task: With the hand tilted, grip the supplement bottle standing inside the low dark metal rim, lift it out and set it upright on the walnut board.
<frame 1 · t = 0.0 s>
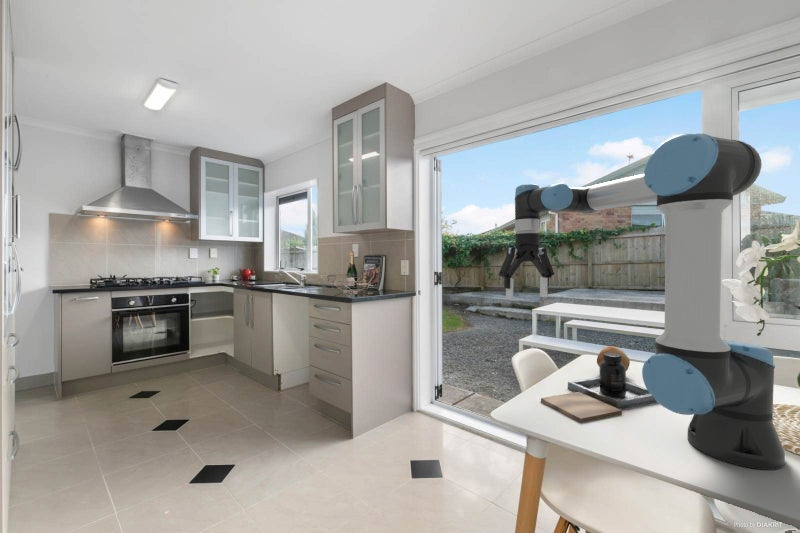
hand: (527, 298, 118), 28 cm above the table, tool pointing down, fingers open, 13 cm apart
supplement bottle: (612, 394, 108), resting in metal rim
onion: (612, 375, 126), on the table
metal rim: (612, 394, 108), on the table
walnut board: (579, 407, 98), on the table
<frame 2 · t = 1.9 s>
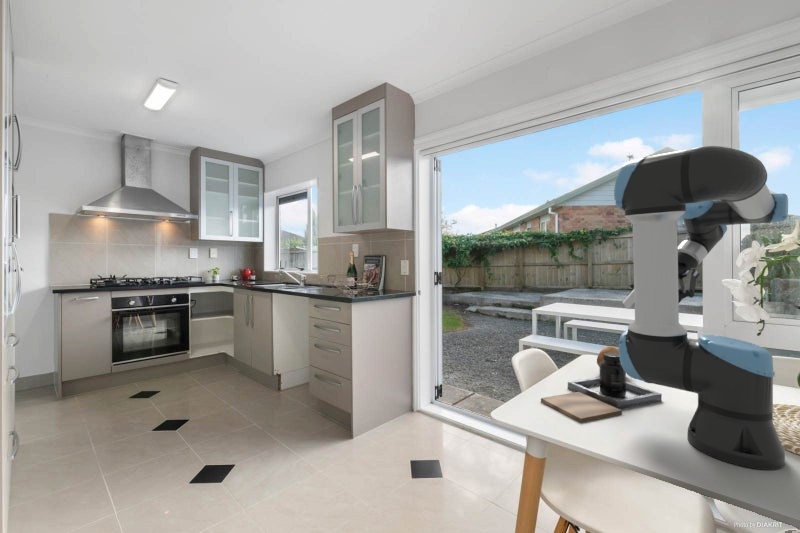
hand: (643, 308, 109), 26 cm above the table, tool tilted 45°, fingers open, 13 cm apart
nothing on the table moved.
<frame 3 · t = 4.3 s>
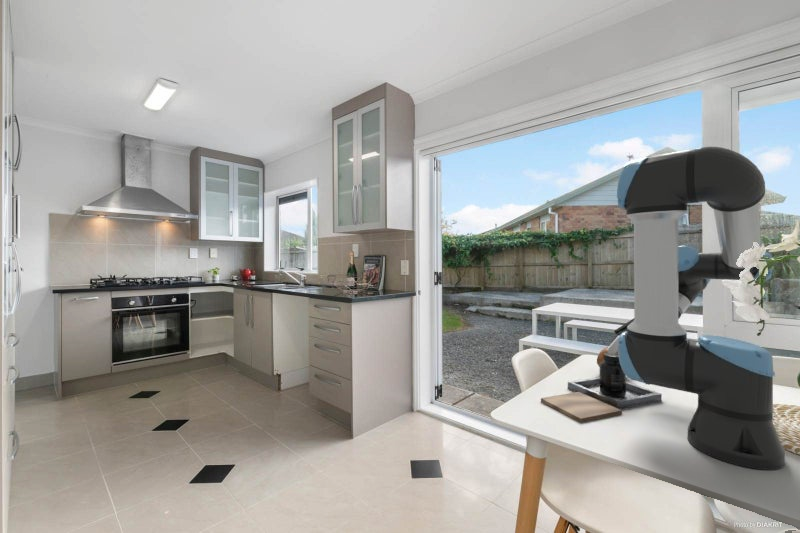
hand: (625, 358, 109), 10 cm above the table, tool tilted 45°, fingers open, 13 cm apart
nothing on the table moved.
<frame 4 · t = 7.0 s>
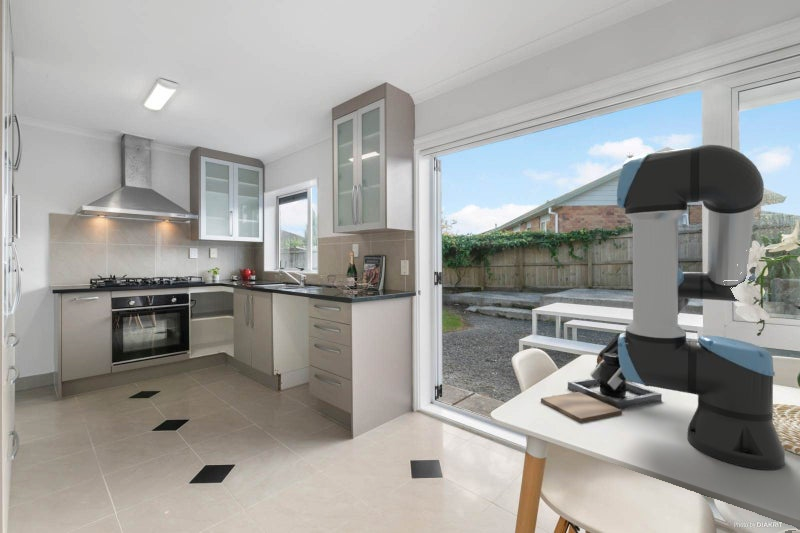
hand: (601, 381, 107), 4 cm above the table, tool tilted 45°, fingers closed on supplement bottle, 7 cm apart
supplement bottle: (612, 394, 108), resting in metal rim, touching gripper
everything else where it was.
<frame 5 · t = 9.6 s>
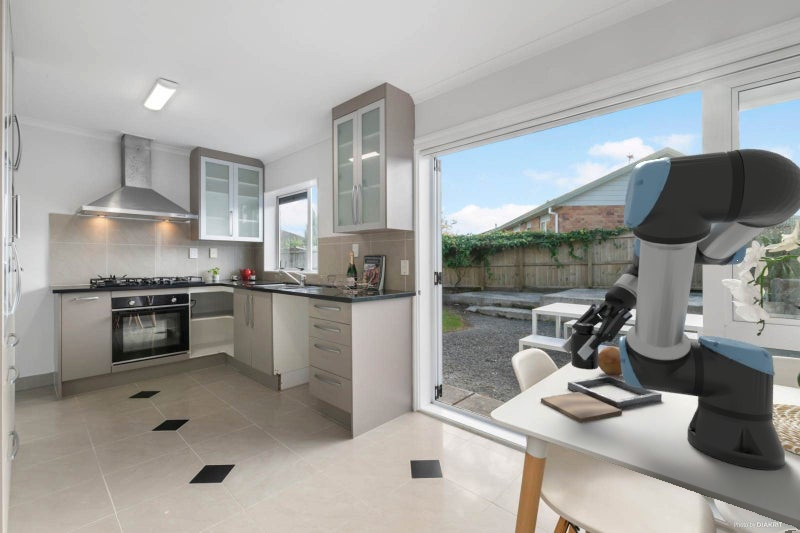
hand: (572, 353, 100), 15 cm above the table, tool tilted 45°, fingers closed on supplement bottle, 7 cm apart
supplement bottle: (584, 367, 100), point 10 cm above the table, touching gripper
everything else where it was.
when the fingers open (6 cm above the table, at t = 12.5 s): supplement bottle drops 1 cm, resting on walnut board.
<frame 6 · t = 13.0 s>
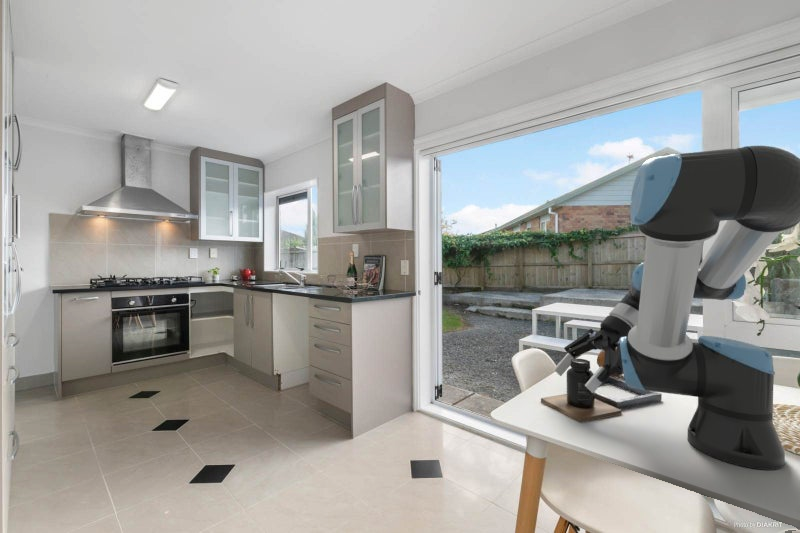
hand: (571, 380, 98), 8 cm above the table, tool tilted 45°, fingers open, 13 cm apart
supplement bottle: (580, 404, 98), point 1 cm above the table, touching walnut board
everything else where it was.
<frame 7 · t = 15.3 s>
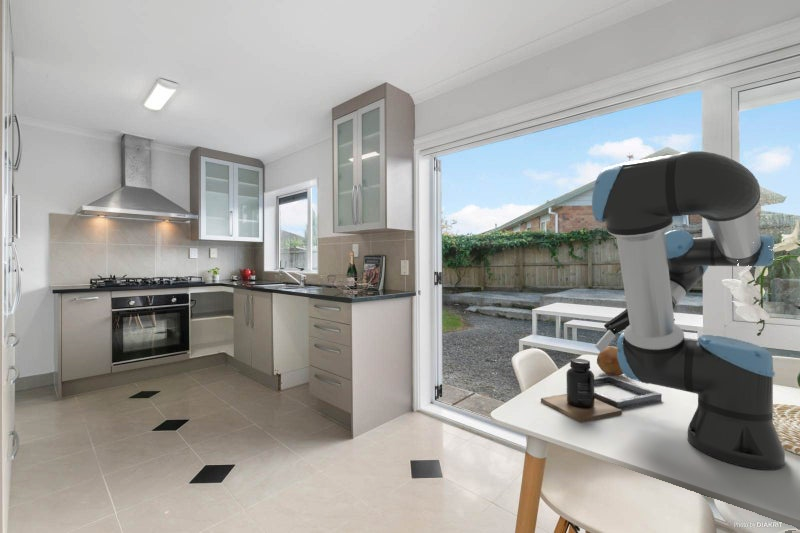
hand: (613, 355, 101), 14 cm above the table, tool tilted 45°, fingers open, 12 cm apart
nothing on the table moved.
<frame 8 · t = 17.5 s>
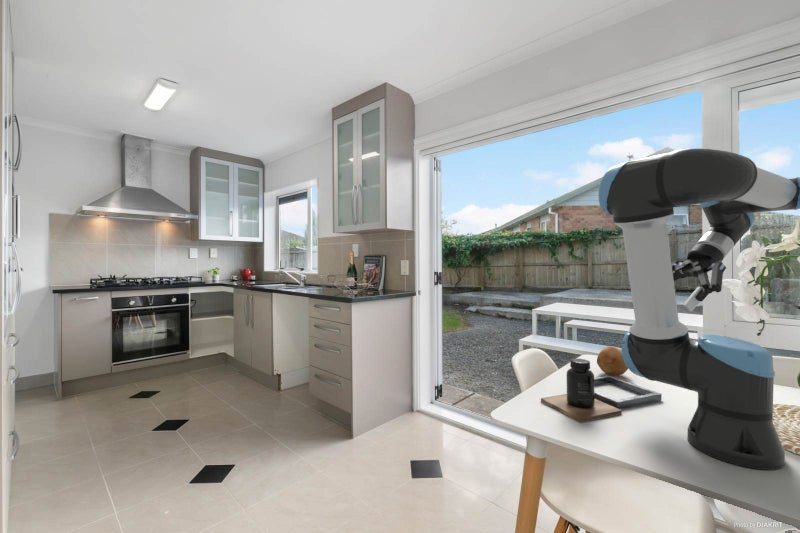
hand: (663, 305, 101), 28 cm above the table, tool tilted 45°, fingers open, 13 cm apart
nothing on the table moved.
at the end: supplement bottle inside the target area on the walnut board (0.2 cm from its centre), point 0.8 cm above the walnut board's base; supplement bottle tilted 0°; the gripper is holding nothing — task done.
